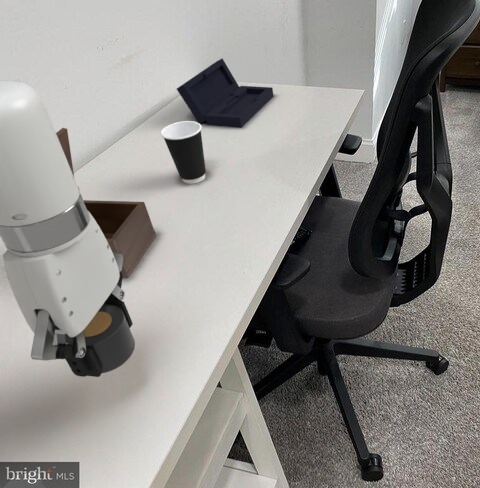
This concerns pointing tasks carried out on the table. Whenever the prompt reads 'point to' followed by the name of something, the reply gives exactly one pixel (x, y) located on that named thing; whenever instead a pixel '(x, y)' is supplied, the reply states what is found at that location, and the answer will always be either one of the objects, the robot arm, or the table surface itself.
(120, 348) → the tape
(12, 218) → the robot arm
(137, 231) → the chest
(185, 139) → the dixie cup
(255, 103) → the storage box
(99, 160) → the table surface
